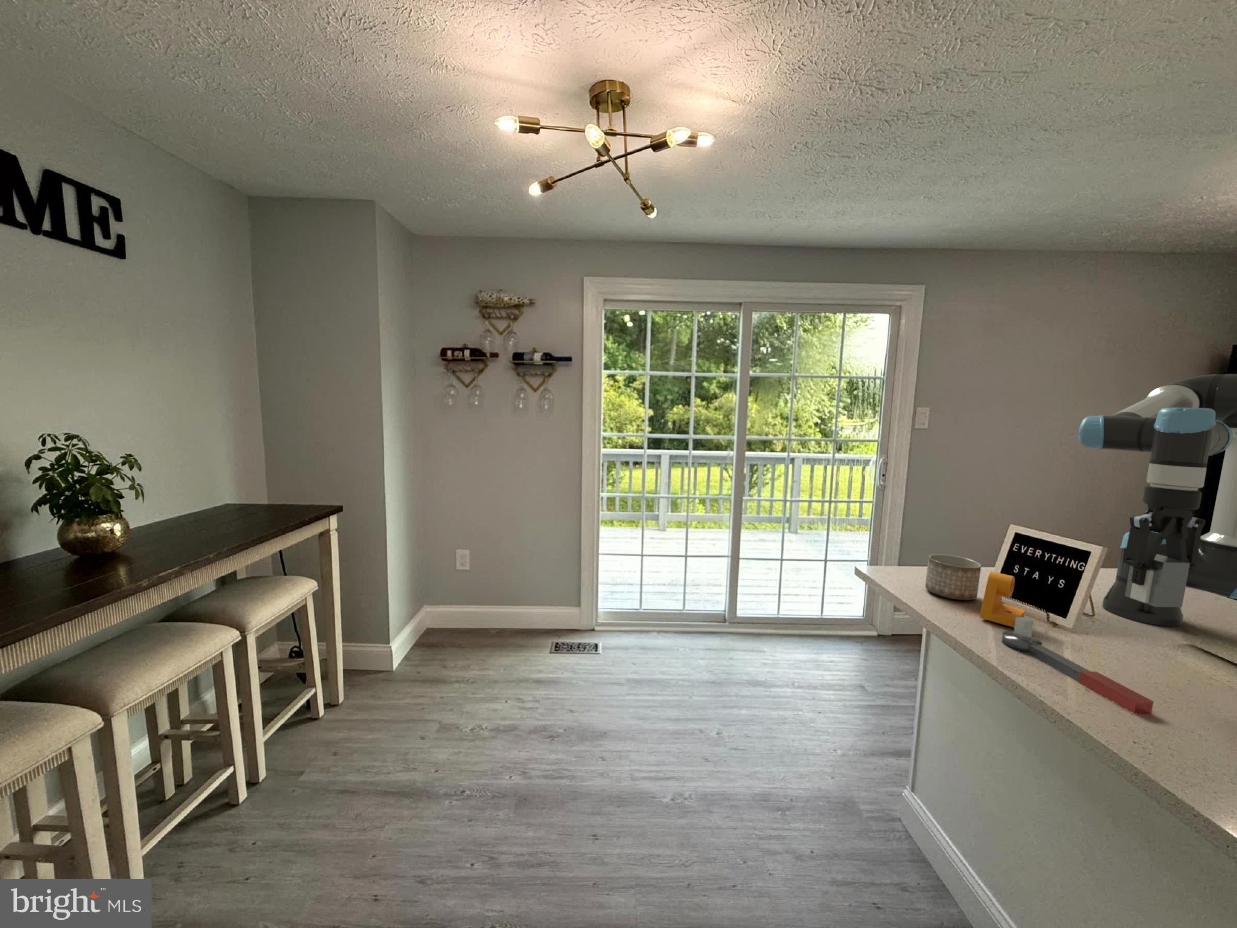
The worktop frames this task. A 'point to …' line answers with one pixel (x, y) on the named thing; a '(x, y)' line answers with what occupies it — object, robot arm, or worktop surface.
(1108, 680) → the ratchet
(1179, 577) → the gray rectangular block
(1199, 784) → the worktop surface
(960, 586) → the planter
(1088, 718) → the worktop surface
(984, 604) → the bracket
